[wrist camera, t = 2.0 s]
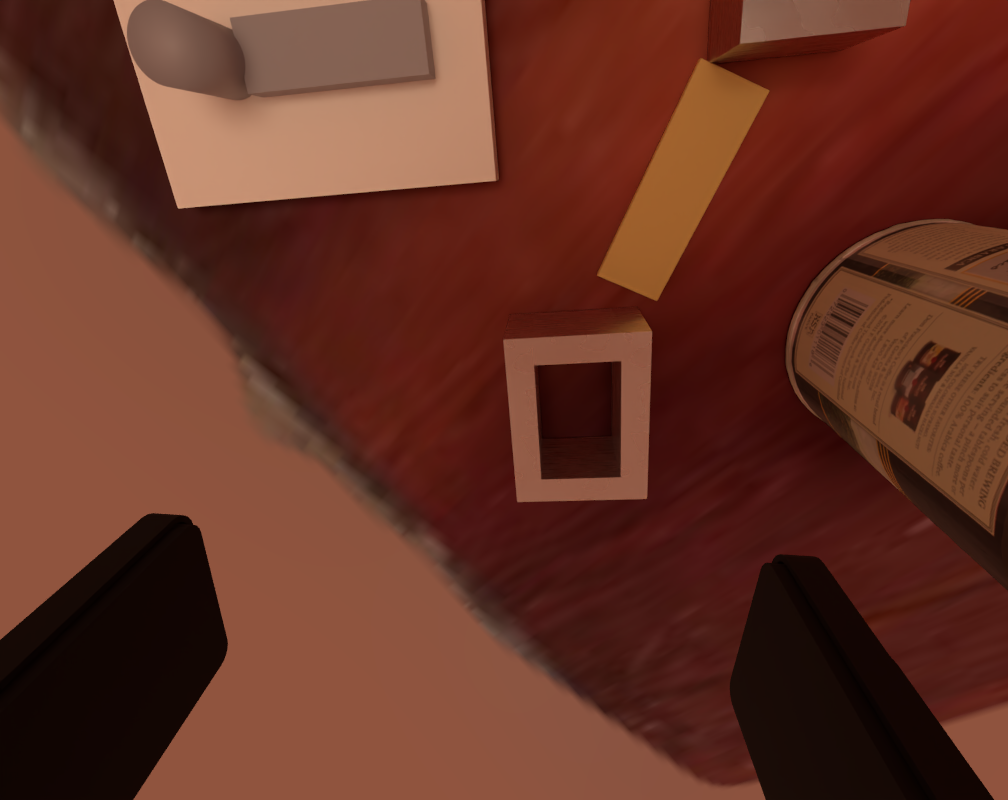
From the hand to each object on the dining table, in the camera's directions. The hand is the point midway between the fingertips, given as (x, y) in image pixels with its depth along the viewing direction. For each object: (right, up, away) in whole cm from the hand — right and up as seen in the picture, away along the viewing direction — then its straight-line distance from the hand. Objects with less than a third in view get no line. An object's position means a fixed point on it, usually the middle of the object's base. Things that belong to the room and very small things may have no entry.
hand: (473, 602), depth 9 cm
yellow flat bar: (+8, +12, +14) cm, 20 cm away
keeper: (-7, +17, +13) cm, 23 cm away
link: (+4, +4, +18) cm, 19 cm away
